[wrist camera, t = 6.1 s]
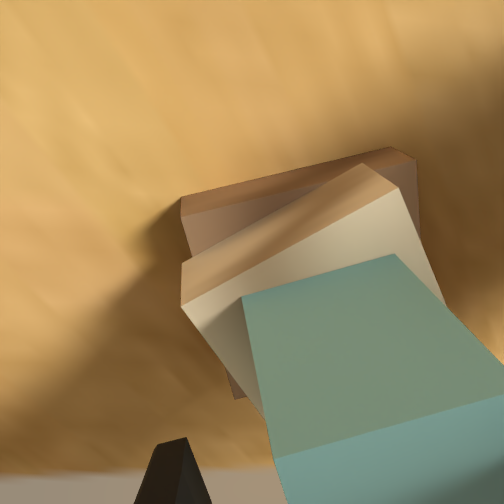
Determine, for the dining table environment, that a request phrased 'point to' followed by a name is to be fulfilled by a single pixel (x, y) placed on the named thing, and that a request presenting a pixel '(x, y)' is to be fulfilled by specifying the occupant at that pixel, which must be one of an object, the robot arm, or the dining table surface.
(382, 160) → the tower base
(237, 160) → the dining table surface
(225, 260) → the tower top
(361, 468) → the teal block
